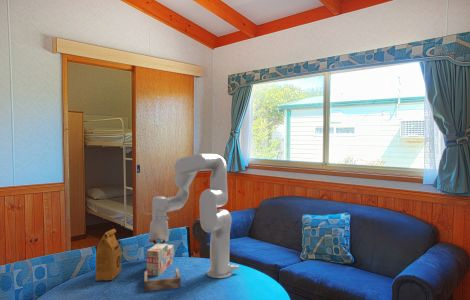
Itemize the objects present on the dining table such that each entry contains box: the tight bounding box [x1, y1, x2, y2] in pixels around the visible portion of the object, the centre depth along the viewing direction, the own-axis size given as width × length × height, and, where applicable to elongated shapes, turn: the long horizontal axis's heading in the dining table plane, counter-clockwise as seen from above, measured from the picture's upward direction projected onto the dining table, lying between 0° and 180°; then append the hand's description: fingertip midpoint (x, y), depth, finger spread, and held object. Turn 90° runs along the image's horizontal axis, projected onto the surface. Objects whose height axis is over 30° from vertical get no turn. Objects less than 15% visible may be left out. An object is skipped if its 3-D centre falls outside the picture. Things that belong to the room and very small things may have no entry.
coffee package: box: [95, 228, 122, 282], centre depth 159 cm, size 10×12×22 cm
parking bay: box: [143, 268, 182, 292], centre depth 152 cm, size 15×13×4 cm
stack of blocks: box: [145, 243, 175, 277], centre depth 172 cm, size 21×6×12 cm, turn 169°
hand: (158, 251), depth 186 cm, fingers closed
